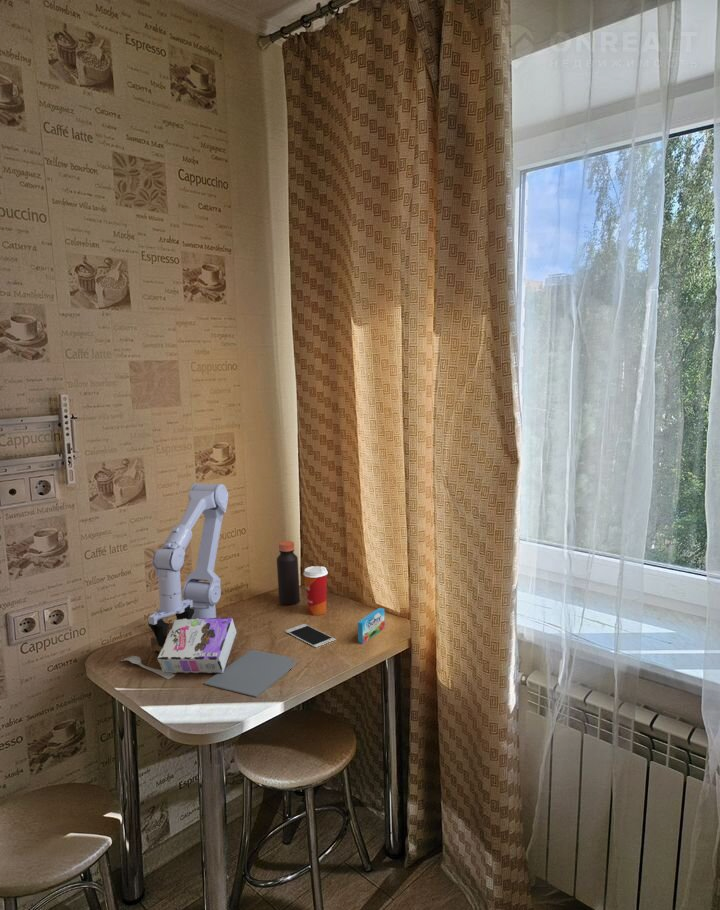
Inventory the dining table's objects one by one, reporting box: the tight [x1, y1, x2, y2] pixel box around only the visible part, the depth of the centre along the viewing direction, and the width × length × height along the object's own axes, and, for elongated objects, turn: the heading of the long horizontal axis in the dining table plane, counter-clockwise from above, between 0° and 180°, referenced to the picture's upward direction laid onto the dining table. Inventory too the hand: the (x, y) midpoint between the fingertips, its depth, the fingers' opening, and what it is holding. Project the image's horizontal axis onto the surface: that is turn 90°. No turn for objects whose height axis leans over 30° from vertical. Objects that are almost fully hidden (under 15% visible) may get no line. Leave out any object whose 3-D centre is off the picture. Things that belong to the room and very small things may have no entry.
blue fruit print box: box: [357, 607, 386, 644], centre depth 181 cm, size 12×2×6 cm, turn 147°
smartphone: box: [284, 623, 337, 648], centre depth 183 cm, size 7×15×1 cm, turn 41°
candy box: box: [156, 617, 237, 674], centre depth 167 cm, size 14×6×16 cm
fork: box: [120, 655, 176, 680], centre depth 167 cm, size 3×21×3 cm, turn 58°
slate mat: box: [202, 649, 301, 698], centre depth 163 cm, size 16×20×1 cm
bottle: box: [276, 540, 301, 606], centre depth 208 cm, size 7×7×20 cm
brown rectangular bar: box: [150, 632, 169, 653], centre depth 175 cm, size 16×4×4 cm, turn 72°
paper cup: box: [302, 565, 329, 616], centre depth 199 cm, size 8×8×14 cm
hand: (173, 640), depth 173 cm, fingers open, 7 cm apart
